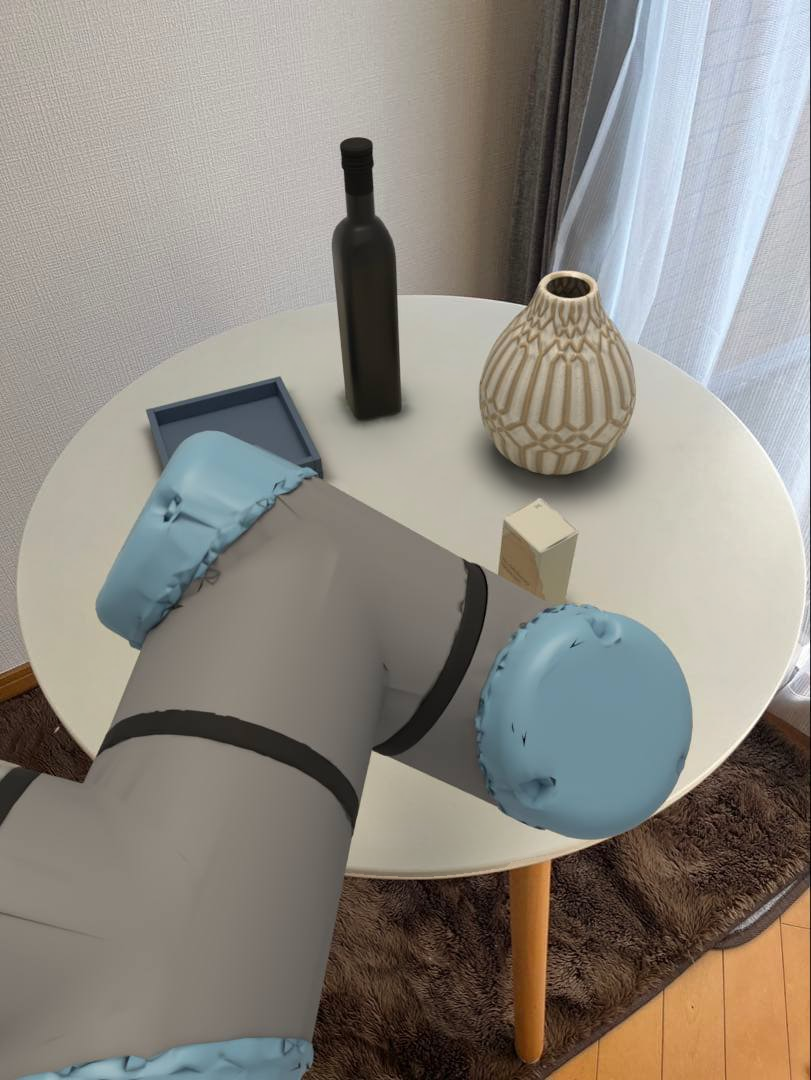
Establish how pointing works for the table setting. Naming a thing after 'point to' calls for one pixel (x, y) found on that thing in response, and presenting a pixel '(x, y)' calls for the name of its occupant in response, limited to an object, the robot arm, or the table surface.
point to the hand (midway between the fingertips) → (318, 654)
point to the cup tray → (239, 422)
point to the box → (538, 551)
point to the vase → (558, 380)
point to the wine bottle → (366, 292)
